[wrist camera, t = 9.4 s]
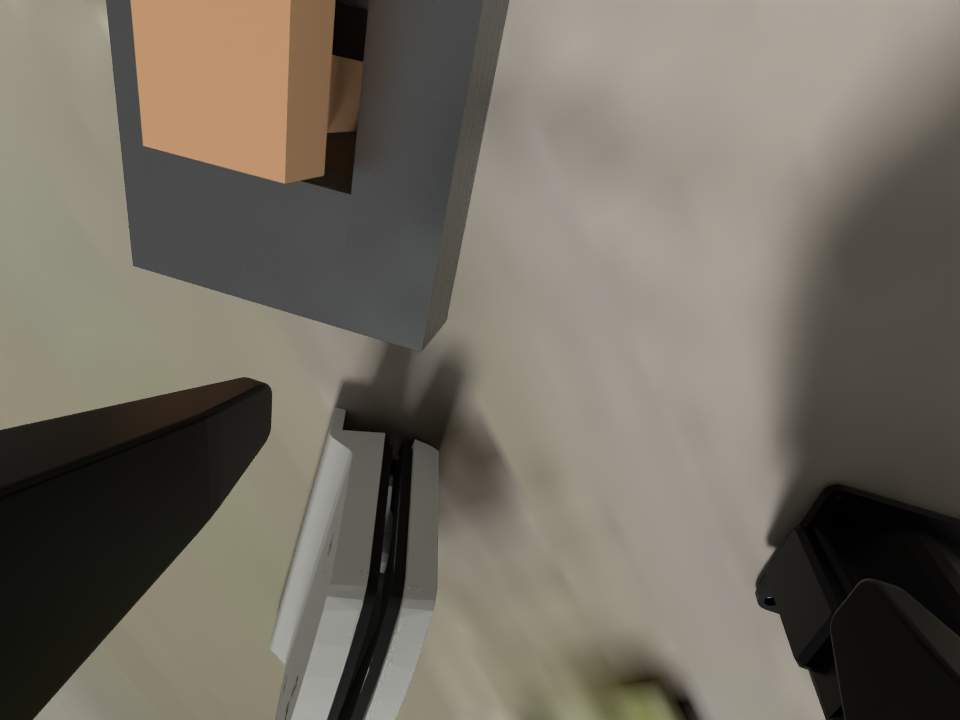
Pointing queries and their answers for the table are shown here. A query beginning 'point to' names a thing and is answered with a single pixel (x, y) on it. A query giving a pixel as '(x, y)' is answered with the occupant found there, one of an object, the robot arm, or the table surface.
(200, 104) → the tan wooden plank
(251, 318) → the table surface
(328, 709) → the grey upright panel
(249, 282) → the gray slotted slab
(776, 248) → the table surface
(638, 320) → the table surface
